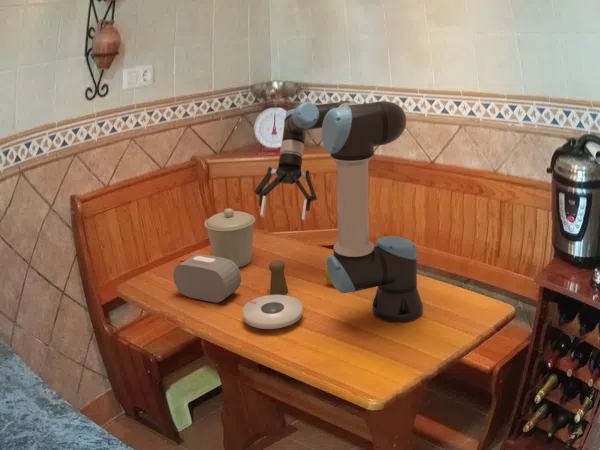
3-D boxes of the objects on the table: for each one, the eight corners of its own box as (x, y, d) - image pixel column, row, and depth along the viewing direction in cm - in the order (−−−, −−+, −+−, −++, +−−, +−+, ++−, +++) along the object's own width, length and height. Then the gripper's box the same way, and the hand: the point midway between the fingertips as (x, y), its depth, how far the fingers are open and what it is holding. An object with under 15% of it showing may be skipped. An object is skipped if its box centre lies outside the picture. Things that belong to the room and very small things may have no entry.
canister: (209, 255, 256) (203, 203, 248) (257, 251, 257) (252, 198, 250) (208, 275, 239) (202, 219, 231) (260, 270, 240) (255, 214, 233)
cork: (285, 296, 220) (283, 265, 216) (267, 295, 221) (265, 265, 217) (289, 288, 226) (287, 257, 222) (272, 287, 227) (269, 257, 223)
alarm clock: (243, 294, 224) (239, 257, 219) (227, 307, 216) (223, 268, 211) (193, 284, 233) (188, 248, 228) (176, 296, 225) (170, 259, 221)
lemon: (338, 280, 229) (337, 258, 226) (344, 286, 224) (343, 264, 221) (322, 283, 228) (321, 261, 225) (328, 289, 223) (327, 267, 220)
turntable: (314, 308, 207) (313, 301, 206) (278, 334, 193) (278, 327, 193) (267, 295, 217) (267, 289, 216) (231, 319, 204) (230, 312, 203)
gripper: (329, 162, 225) (321, 224, 220) (256, 156, 229) (247, 217, 224) (327, 155, 218) (319, 218, 213) (252, 149, 222) (242, 211, 217)
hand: (282, 218), depth 219 cm, fingers open, 13 cm apart
